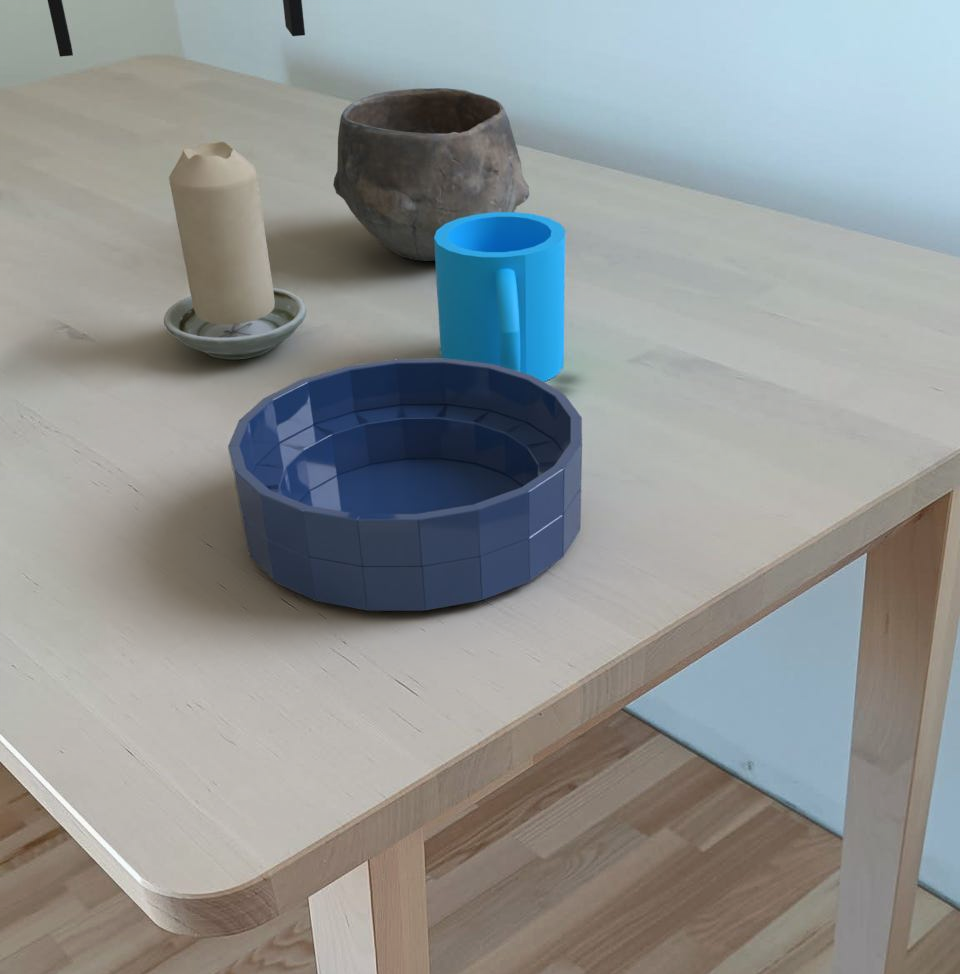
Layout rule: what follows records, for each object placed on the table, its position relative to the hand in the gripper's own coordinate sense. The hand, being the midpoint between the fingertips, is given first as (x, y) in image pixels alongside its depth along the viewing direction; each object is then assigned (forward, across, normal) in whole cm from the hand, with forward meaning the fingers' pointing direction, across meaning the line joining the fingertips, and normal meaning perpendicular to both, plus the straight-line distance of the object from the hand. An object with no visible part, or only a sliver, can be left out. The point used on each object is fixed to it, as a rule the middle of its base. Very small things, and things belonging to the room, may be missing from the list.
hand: (182, 41), depth 76 cm
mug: (+18, +17, -11) cm, 27 cm away
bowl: (+18, +18, +14) cm, 29 cm away
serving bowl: (+18, +7, -28) cm, 34 cm away
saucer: (+18, +1, 0) cm, 18 cm away
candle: (+16, +1, 0) cm, 16 cm away
